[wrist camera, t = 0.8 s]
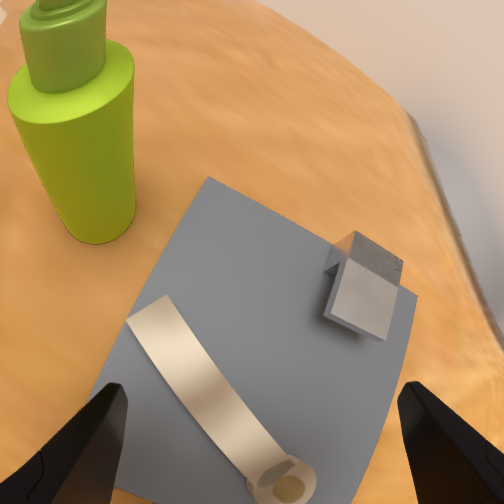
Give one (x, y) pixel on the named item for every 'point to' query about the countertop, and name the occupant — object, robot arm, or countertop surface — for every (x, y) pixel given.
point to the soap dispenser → (77, 115)
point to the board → (254, 358)
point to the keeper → (362, 285)
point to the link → (220, 407)
